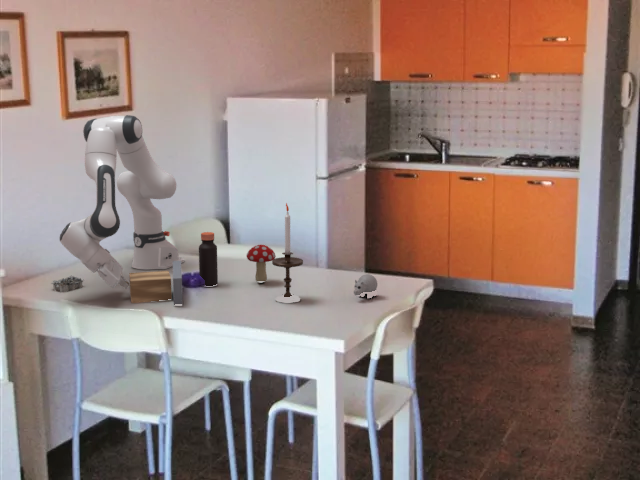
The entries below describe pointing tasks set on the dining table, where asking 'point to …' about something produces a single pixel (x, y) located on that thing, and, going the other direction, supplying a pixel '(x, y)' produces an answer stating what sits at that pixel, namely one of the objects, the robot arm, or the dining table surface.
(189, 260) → the dining table surface
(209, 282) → the bottle
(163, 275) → the oak block
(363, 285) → the round bodied animal figurine
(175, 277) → the slate board
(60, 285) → the egg carton
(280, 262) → the candlestick
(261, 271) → the decorative mushroom
